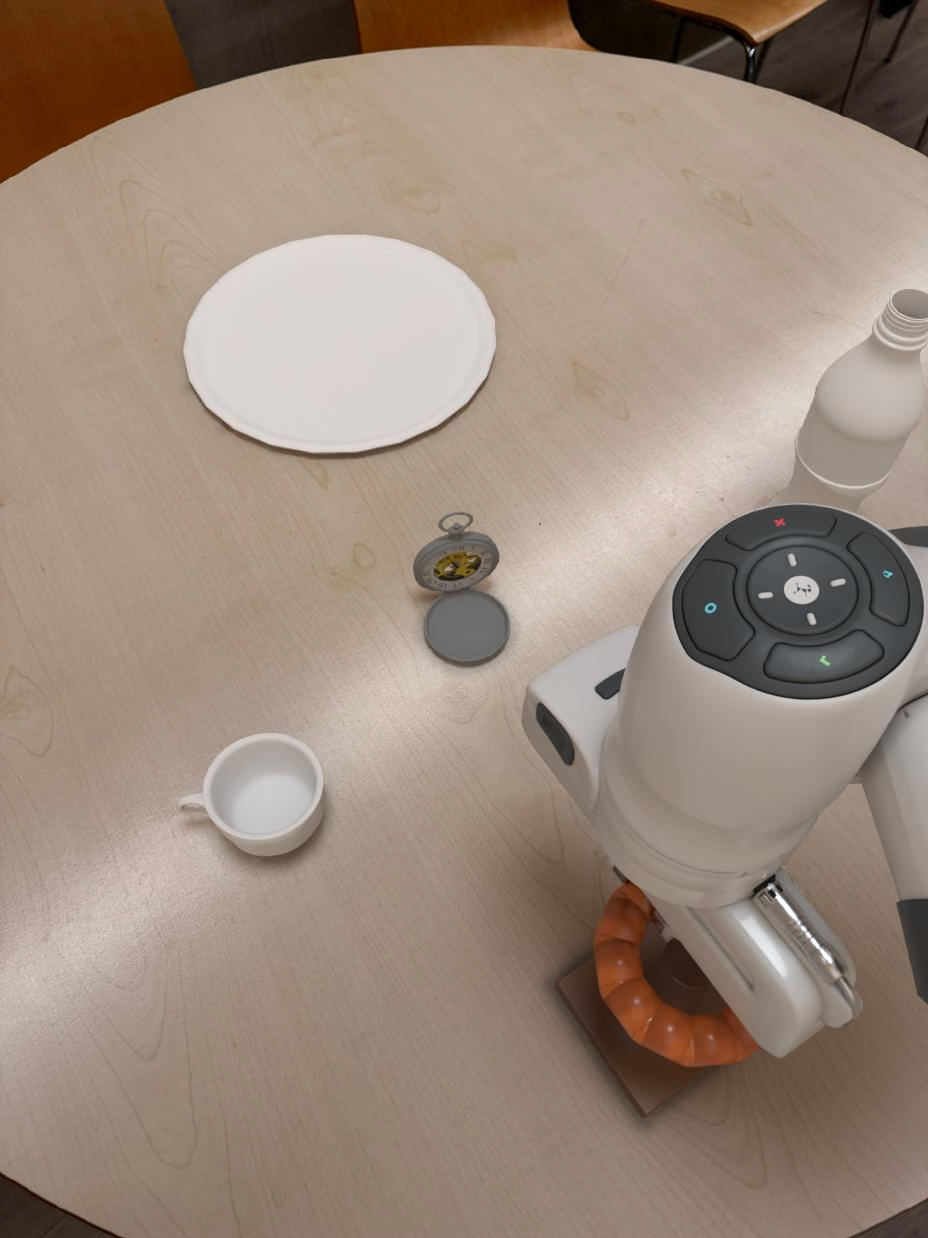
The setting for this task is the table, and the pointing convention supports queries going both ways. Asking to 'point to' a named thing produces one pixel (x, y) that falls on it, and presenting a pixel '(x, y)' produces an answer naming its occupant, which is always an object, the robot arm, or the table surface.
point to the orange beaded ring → (642, 1007)
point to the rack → (628, 1061)
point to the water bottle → (863, 411)
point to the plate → (339, 343)
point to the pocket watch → (461, 595)
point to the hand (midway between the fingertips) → (647, 894)
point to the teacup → (262, 794)
